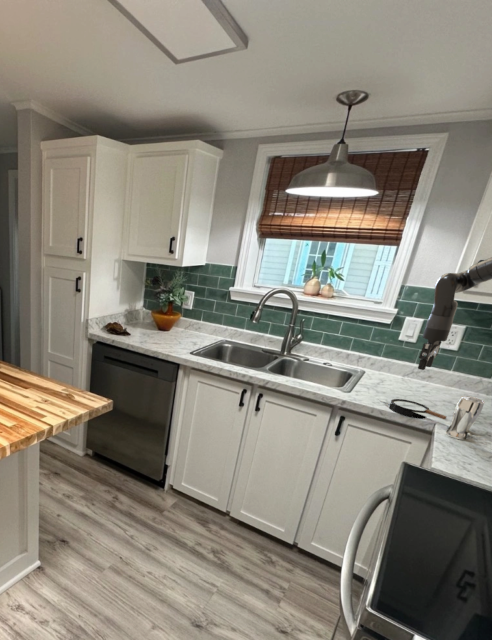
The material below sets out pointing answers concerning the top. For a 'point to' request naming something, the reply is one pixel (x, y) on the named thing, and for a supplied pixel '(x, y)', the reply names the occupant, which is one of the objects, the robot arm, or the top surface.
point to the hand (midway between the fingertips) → (424, 367)
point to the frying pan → (409, 412)
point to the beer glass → (464, 416)
